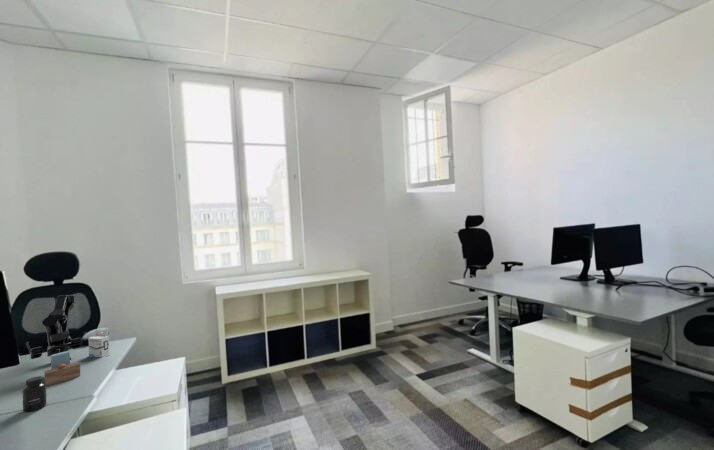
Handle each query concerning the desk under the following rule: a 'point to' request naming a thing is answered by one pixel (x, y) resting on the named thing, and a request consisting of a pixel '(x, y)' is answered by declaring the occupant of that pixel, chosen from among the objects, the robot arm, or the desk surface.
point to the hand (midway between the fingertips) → (59, 362)
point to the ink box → (99, 344)
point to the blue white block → (60, 359)
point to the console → (61, 373)
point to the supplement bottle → (34, 394)
